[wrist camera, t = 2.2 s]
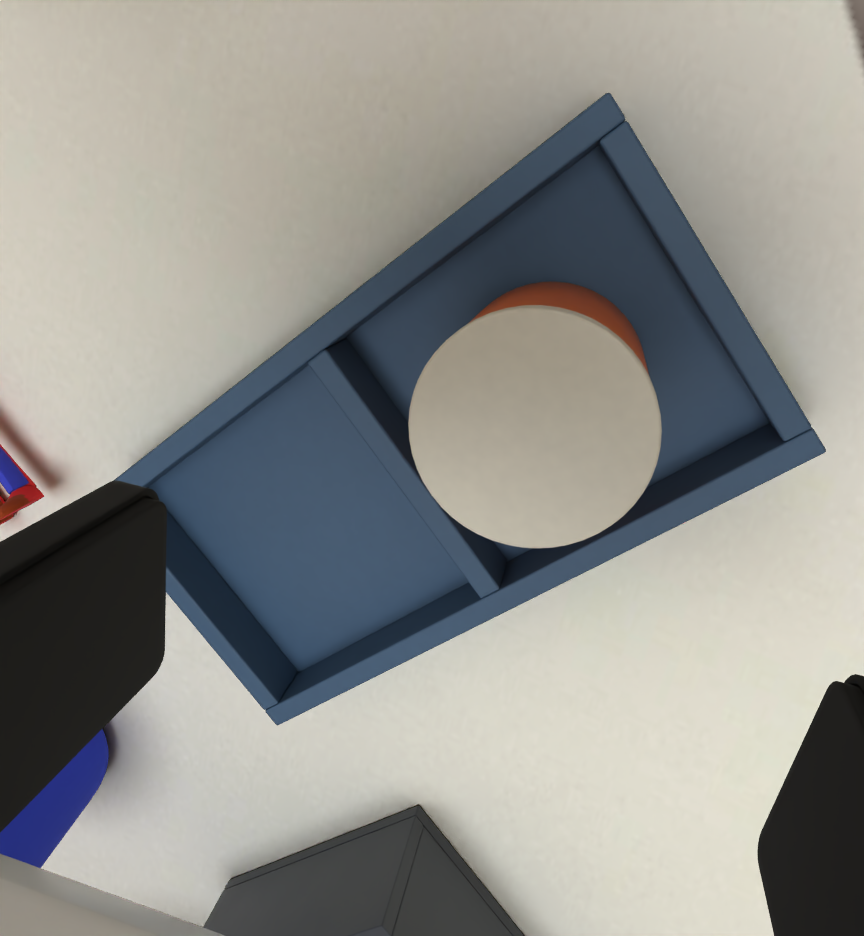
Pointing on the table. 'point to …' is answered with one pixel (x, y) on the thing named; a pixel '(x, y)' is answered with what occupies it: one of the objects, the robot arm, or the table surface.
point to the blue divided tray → (387, 433)
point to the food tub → (537, 418)
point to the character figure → (15, 487)
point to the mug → (56, 806)
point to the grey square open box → (365, 889)
